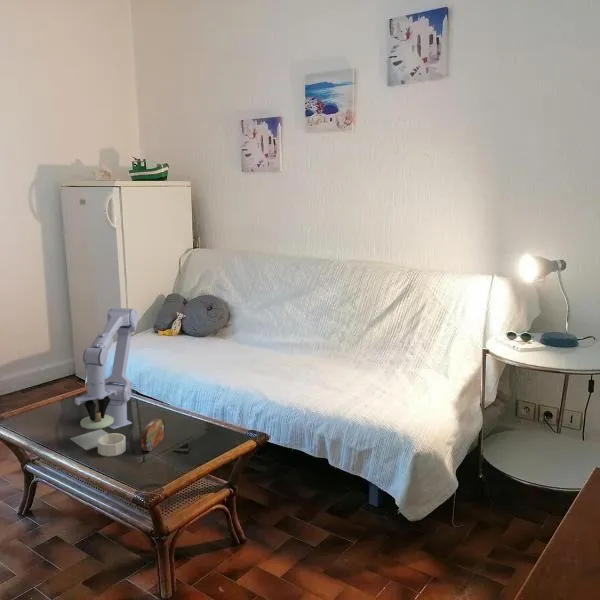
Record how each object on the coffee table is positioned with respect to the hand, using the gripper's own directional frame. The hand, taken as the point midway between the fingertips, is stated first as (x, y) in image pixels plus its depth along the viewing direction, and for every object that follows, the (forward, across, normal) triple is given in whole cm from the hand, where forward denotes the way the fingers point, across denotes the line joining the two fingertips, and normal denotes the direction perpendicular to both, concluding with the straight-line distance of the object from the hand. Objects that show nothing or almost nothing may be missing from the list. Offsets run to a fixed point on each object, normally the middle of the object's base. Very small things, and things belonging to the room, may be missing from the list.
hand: (97, 418), depth 205 cm
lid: (+1, 0, 0) cm, 1 cm away
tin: (+9, +13, -14) cm, 21 cm away
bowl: (+9, +1, -9) cm, 13 cm away
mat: (+9, 0, +3) cm, 9 cm away
